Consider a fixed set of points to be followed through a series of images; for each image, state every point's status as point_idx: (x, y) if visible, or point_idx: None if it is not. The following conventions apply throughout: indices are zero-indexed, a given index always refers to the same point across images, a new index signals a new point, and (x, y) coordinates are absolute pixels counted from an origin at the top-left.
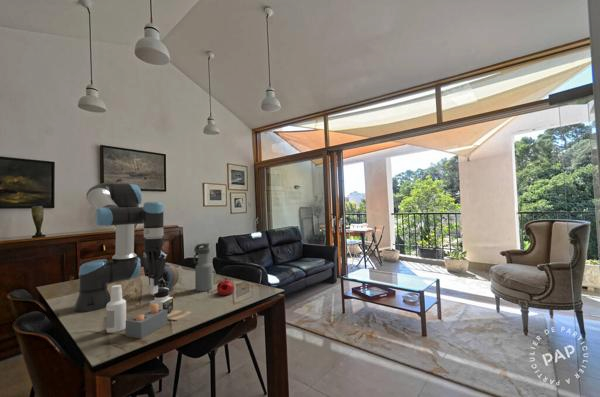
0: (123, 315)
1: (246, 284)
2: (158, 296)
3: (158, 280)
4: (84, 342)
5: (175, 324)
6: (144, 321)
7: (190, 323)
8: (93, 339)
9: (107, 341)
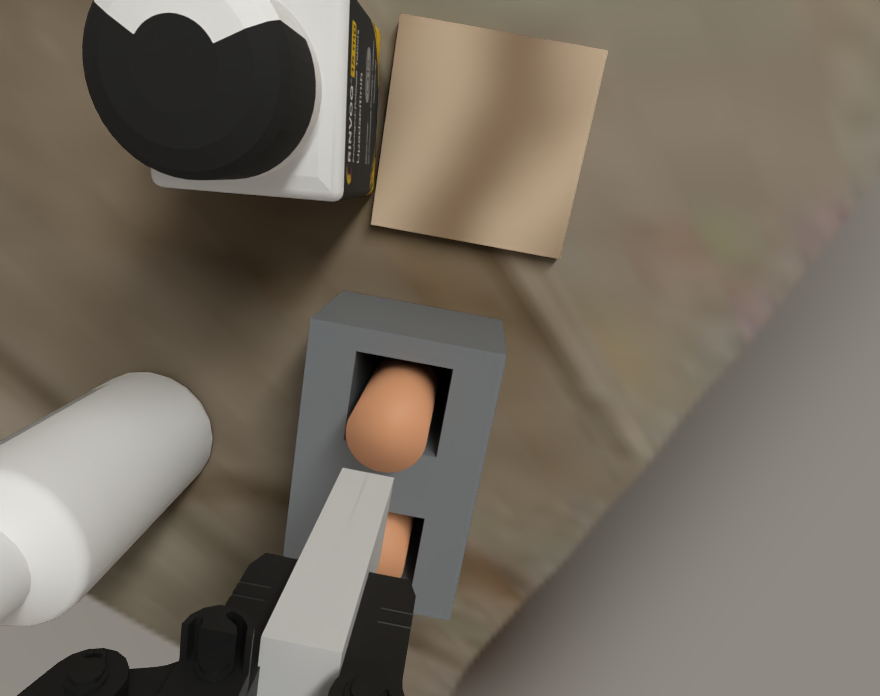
0: (159, 488)
1: None
2: (238, 178)
3: (406, 653)
4: (121, 595)
5: (579, 323)
6: (454, 592)
7: (710, 296)
8: (138, 562)
9: None
